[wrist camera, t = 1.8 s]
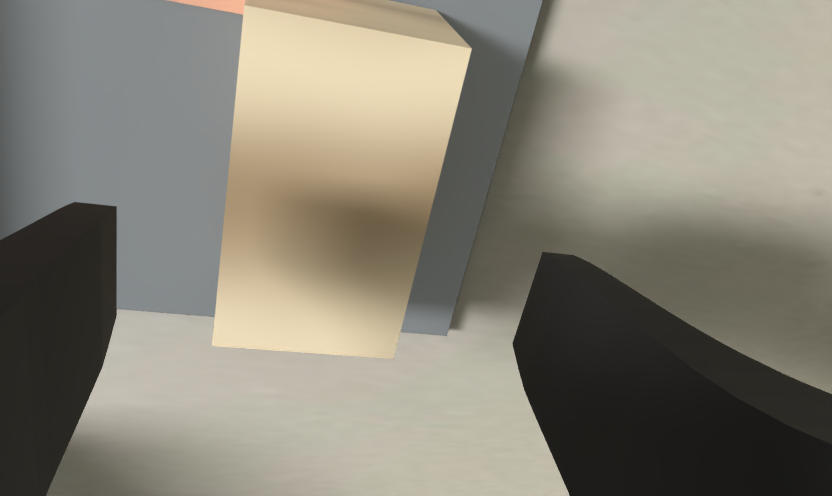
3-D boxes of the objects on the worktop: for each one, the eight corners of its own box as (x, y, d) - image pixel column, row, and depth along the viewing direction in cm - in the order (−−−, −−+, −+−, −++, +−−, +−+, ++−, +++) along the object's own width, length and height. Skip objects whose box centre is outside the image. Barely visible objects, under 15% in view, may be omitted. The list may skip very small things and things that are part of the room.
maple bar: (376, 276, 21) (393, 358, 17) (225, 260, 20) (211, 345, 16) (435, 10, 17) (471, 48, 14) (253, -28, 16) (243, 5, 13)
